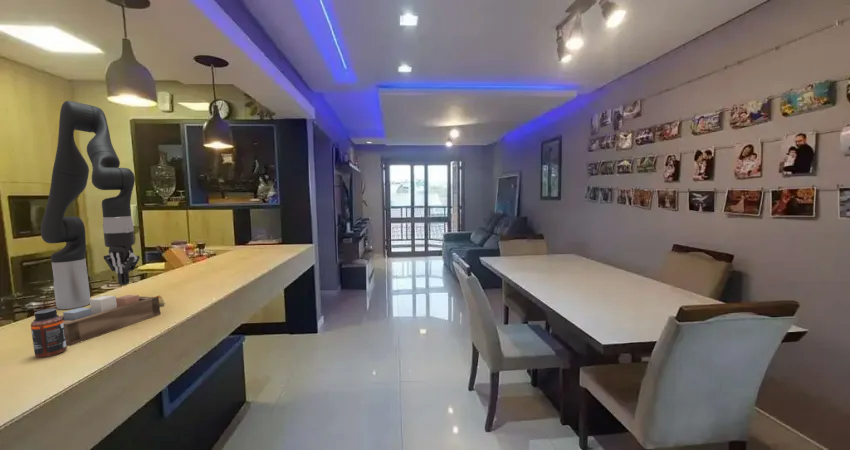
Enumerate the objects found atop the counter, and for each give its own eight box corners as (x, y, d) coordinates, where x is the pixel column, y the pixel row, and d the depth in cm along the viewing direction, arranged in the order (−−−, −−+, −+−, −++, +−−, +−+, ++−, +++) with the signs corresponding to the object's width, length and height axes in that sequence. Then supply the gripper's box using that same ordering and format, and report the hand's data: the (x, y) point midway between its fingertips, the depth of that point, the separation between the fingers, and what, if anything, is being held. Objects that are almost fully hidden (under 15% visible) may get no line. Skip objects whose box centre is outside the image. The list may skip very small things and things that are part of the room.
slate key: (65, 329, 109) (62, 312, 109) (82, 323, 114) (80, 307, 113) (76, 330, 108) (73, 313, 108) (93, 324, 112) (91, 308, 112)
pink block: (116, 313, 123) (114, 298, 122) (130, 309, 127) (128, 294, 127) (126, 314, 122) (124, 299, 121) (140, 310, 126) (138, 295, 125)
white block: (91, 315, 116) (89, 299, 115) (107, 310, 120) (105, 295, 120) (102, 316, 115) (100, 299, 114) (117, 311, 119) (115, 295, 118)
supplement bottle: (73, 348, 102) (68, 306, 100) (51, 358, 96) (45, 314, 95) (51, 348, 102) (46, 307, 101) (27, 358, 96) (21, 314, 95)
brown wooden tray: (40, 341, 107) (38, 321, 106) (133, 312, 132) (132, 295, 131) (71, 345, 104) (68, 324, 103) (160, 314, 129) (158, 297, 128)
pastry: (136, 313, 131) (134, 302, 131) (128, 310, 135) (127, 300, 135) (166, 306, 139) (165, 295, 139) (158, 303, 143) (157, 293, 142)
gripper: (90, 232, 120) (96, 286, 122) (122, 232, 116) (127, 288, 118) (115, 229, 127) (121, 280, 129) (146, 229, 123) (151, 282, 125)
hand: (124, 284), depth 123 cm, fingers closed
